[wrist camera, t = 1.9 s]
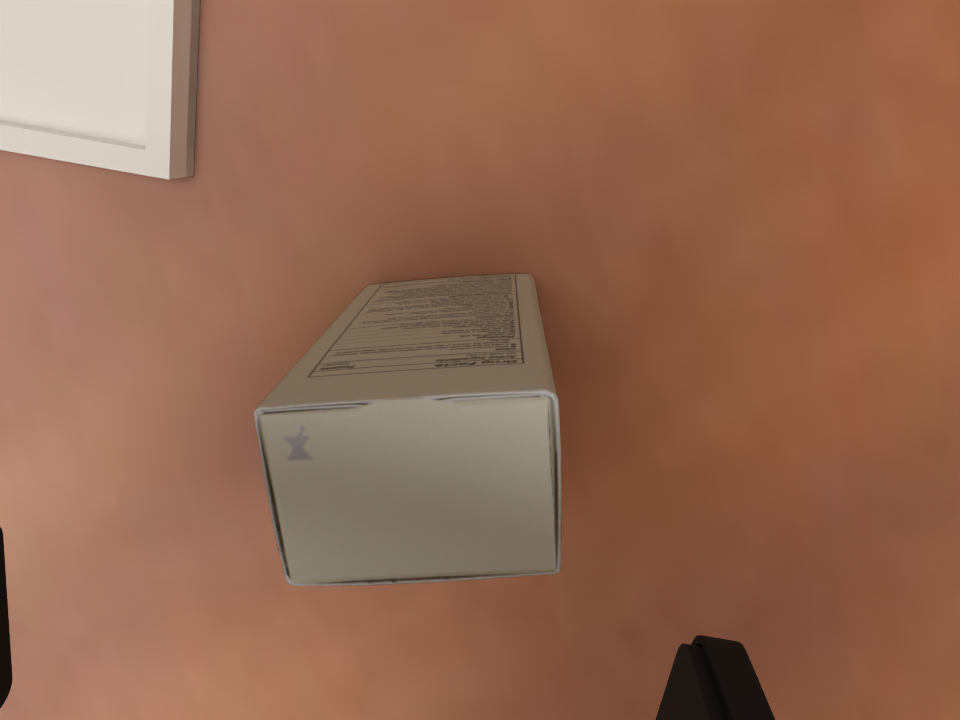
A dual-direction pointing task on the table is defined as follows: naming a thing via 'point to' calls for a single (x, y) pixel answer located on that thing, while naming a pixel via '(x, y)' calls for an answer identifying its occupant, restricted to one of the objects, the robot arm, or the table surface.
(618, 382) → the table surface
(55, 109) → the tray
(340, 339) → the skincare box
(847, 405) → the table surface
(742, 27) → the table surface
